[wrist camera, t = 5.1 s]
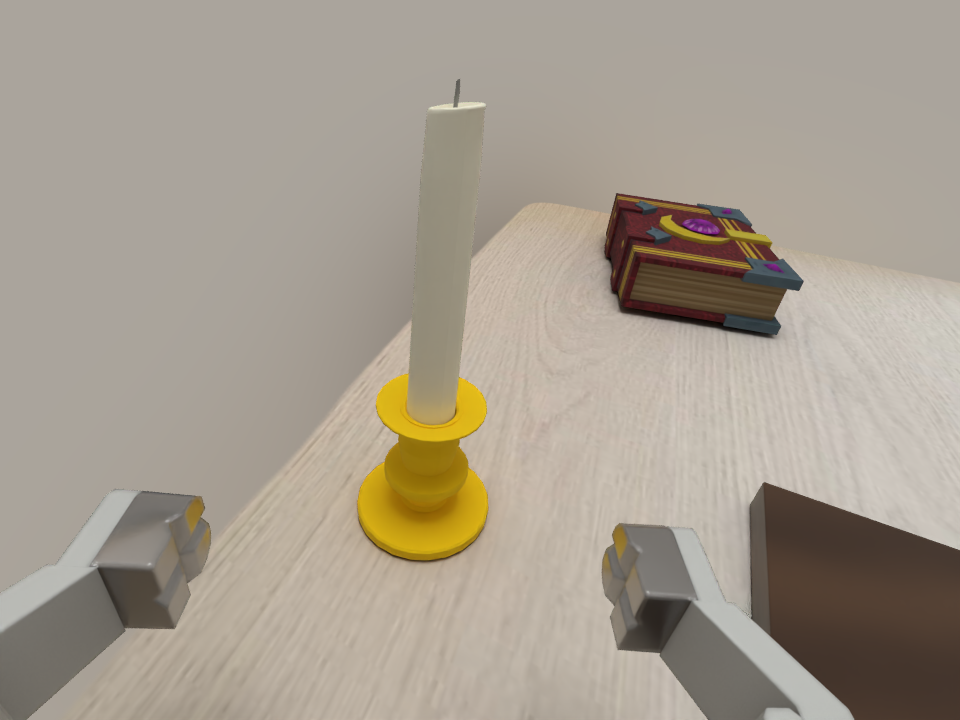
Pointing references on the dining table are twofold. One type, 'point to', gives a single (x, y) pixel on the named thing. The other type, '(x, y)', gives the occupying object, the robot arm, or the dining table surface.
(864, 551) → the board
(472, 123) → the candle
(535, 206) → the dining table surface
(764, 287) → the decorative book
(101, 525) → the robot arm
